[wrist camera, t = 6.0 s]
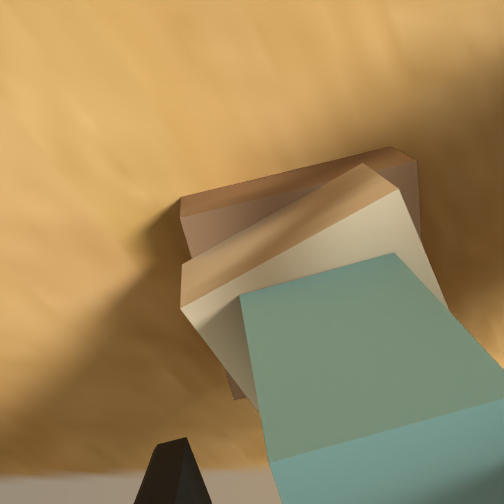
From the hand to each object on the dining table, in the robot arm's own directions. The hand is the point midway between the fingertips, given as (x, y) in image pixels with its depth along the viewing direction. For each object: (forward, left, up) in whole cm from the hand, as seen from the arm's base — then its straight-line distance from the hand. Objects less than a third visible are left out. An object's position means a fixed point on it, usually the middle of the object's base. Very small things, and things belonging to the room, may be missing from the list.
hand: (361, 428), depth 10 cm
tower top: (0, 0, -6) cm, 6 cm away
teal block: (0, 0, -3) cm, 3 cm away
